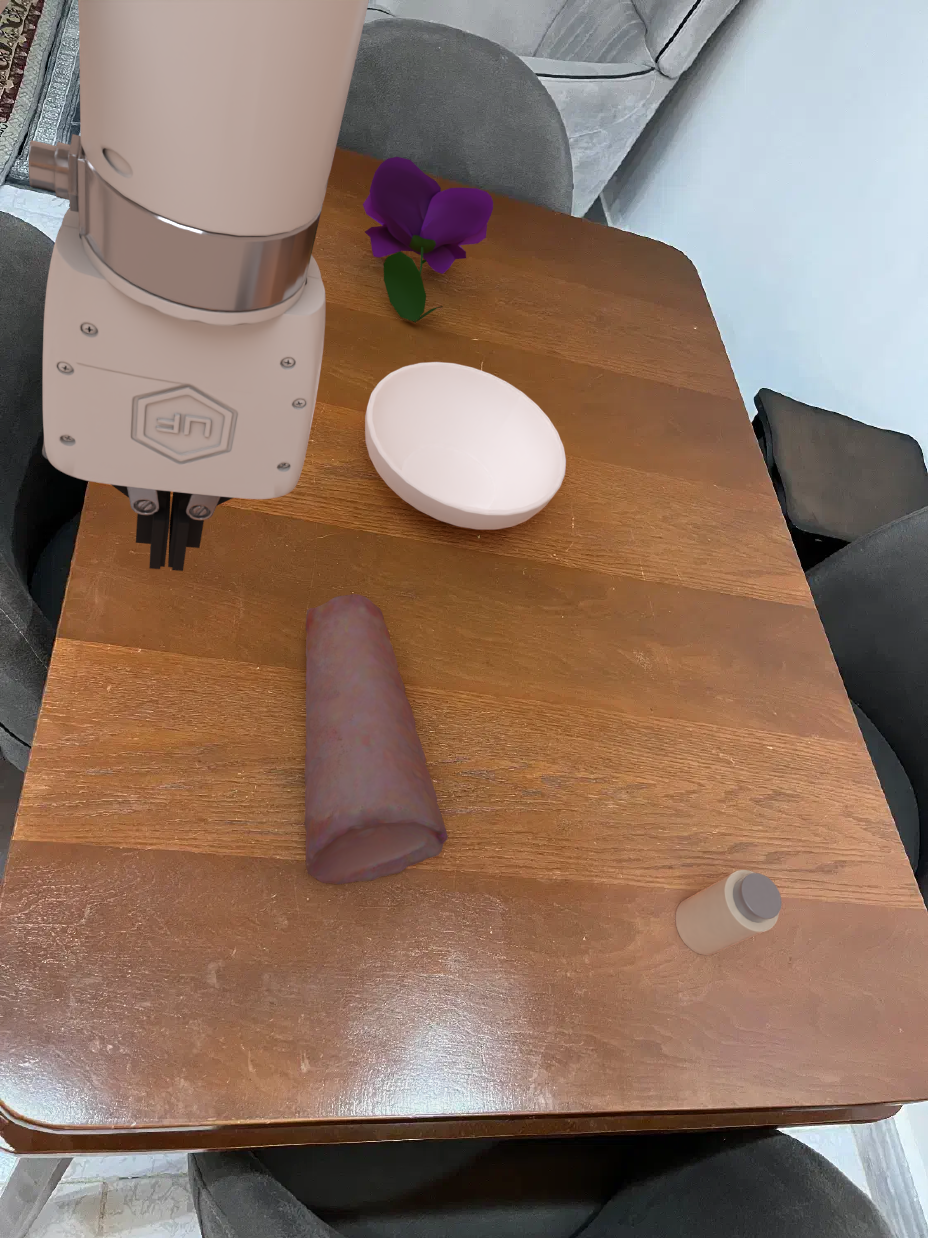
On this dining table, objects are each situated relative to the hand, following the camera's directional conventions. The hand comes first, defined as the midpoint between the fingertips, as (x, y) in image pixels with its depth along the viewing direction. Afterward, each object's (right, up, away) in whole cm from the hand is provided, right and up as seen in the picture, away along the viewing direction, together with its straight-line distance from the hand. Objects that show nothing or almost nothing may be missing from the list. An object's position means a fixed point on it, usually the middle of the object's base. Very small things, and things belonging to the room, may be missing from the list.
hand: (166, 546), depth 42 cm
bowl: (+13, +10, +41) cm, 45 cm away
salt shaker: (+33, -28, +23) cm, 49 cm away
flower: (+9, +35, +57) cm, 67 cm away
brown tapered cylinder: (+7, -14, +22) cm, 27 cm away
